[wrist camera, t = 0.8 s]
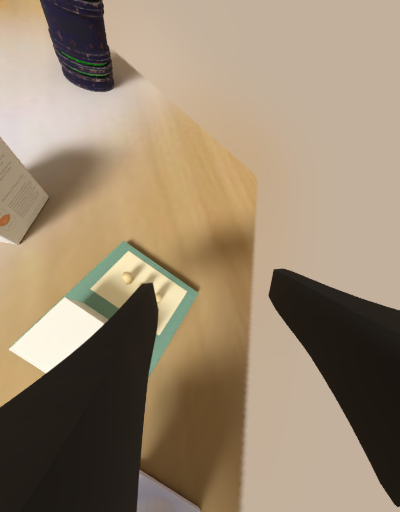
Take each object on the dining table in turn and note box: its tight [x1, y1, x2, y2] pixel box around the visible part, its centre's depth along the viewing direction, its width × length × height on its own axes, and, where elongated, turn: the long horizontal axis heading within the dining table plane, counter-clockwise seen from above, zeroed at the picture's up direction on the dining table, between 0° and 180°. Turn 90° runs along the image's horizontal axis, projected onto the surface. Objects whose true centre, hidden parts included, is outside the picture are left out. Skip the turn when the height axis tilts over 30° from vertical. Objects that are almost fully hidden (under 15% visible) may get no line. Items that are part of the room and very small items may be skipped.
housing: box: [9, 297, 109, 373], centre depth 15 cm, size 5×9×4 cm, turn 58°
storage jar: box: [40, 0, 114, 92], centre depth 28 cm, size 10×10×15 cm
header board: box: [10, 241, 198, 377], centre depth 18 cm, size 15×13×4 cm
